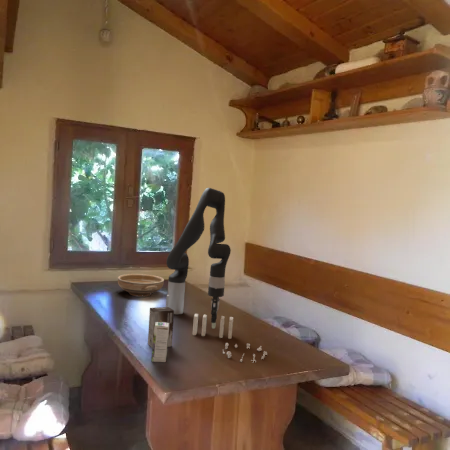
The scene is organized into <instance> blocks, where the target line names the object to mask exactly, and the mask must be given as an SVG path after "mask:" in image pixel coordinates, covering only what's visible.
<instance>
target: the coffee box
mask: <svg viewBox="0 0 450 450" xmlns="http://www.w3.org/2000/svg"><path fill="white" fill-rule="evenodd" d="M174 315H175V314H174V310H173V309H171V308H170V307H166V306H164V307H163V306H161V307H158V306H157V307H149V316H148V319H149V320H148V331H147V332H148V333H147V344H148V345H149V347H150V348H152V347H153V337H154V327H155V323H156V322H165V323H169V333H168V345H167V348H168V347H173V333H174V317H175V316H174Z"/></svg>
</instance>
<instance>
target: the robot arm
mask: <svg viewBox="0 0 450 450" xmlns="http://www.w3.org/2000/svg"><path fill="white" fill-rule="evenodd" d="M196 205H197V206H196V207H195V210H194V211H193V214H192V215H191V217H190V218H189V220H188V222H187V223H186V226H185V227H184V229H183V232H182V233H181V236H180V237H179V239H178V240H177V242H176V243H175V245H174V247H173V248H172V249H171V250H170V252H169V254H168V255H167V256H166V257H167V258H166V266H167V268H168V269H170V270H174V271H173V273H171V274H170V275H169V276H168V281H167V282H168V283H167V293H166V300H165V307H170V308H171V309H173V310H174V315H182V314H183V313H184V304H185V290H186V279H187V277H188V271H189V265H190V259H189V256H188V254H187V253H186V251H188V250H189V249H191V247H192V246H193V245H195V244H196V243H197V242H198V241H199V240H200V238H201V236H202V235H203V234H204V231H205V218H204V213H205V210H206V208H207V207H209V208H213V209H215V216H214V217H213V219H212V220H211V222H210V224H209V236H210V238H209V240H210V241H209V245H208V248H207V255H208V257H210V259H218V260H219V259H221V260H220V261H218V262H215V263H211V265H210V271H209V279H208V286H207V287H208V288H207V289H208V291H207V295H208V296H209V297H212V298H211V300H210V310H211V312H210V315H211V318H210V323H211V324H212V323H216V324H217V318H218V317H217V316H218V311H219V306H220V302H221V301H220V298H221V297H224V295H225V285H226V281H225V280H226V279H225V278H226V267H227V263H228V261H229V258H230V256H231V251H232V249H231V247H230V245H229V244H227V243H223V242H224V241H225V239H226V233H225V210H226V196H225V193H224V191H223V192H222V191H221V190H217V189H214V188H213V187H207V188H205V189H204V190H203V192H202V194H201V196H200V198H199V200H198V203H197V204H196ZM213 310H215V311H216V312H213Z"/></svg>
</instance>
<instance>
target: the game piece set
mask: <svg viewBox="0 0 450 450" xmlns="http://www.w3.org/2000/svg"><path fill="white" fill-rule="evenodd" d="M229 346H230V345H229V343H228V342H225V345H224V347H225V348H224V349H222V354H225V355H226V356H227V358H228V359H231V357H232V352H231V351H230V350H229V351H227V352H225V351H224V350H227V349H228V347H229ZM250 346H251V344H250V343H246V349H248V348H249V349H251V347H250ZM234 348H235V349H237V348H238V344H235V345H234ZM262 350H263V348H262V345H260V346H259V347H258V348H257V349H256V351H258V352H260V351H262ZM265 355H267V356H268V352H267V351H265V350H264V351H263V354H262V355H261V358H260V359H261V360H262V359H263V360H264V359H265V358H266V356H265ZM244 356H245V353H243V354H242V356H241V358H240V360H239V362H240V363H243V357H244ZM252 356H253V360H252V359H251V360H250V361H253V362H252V363H254V361H255V363H257V360H256V359H255V357H256V354H252Z"/></svg>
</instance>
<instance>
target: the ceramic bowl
mask: <svg viewBox="0 0 450 450" xmlns="http://www.w3.org/2000/svg"><path fill="white" fill-rule="evenodd" d="M164 281H165V279H164V278H163V277H161V276H157V275H153V274H145V273H128V274H127V273H125V274H121V275H119V276H117V284H118V286H119V287H120V288H121V289H122V290H124V291H125V292H128V293H129V295H131V296H134V297H148V296H151V294H152V293H153V294H154V293H156V292H158V291H159V290H161V289H162V287H163V286H164Z"/></svg>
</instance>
